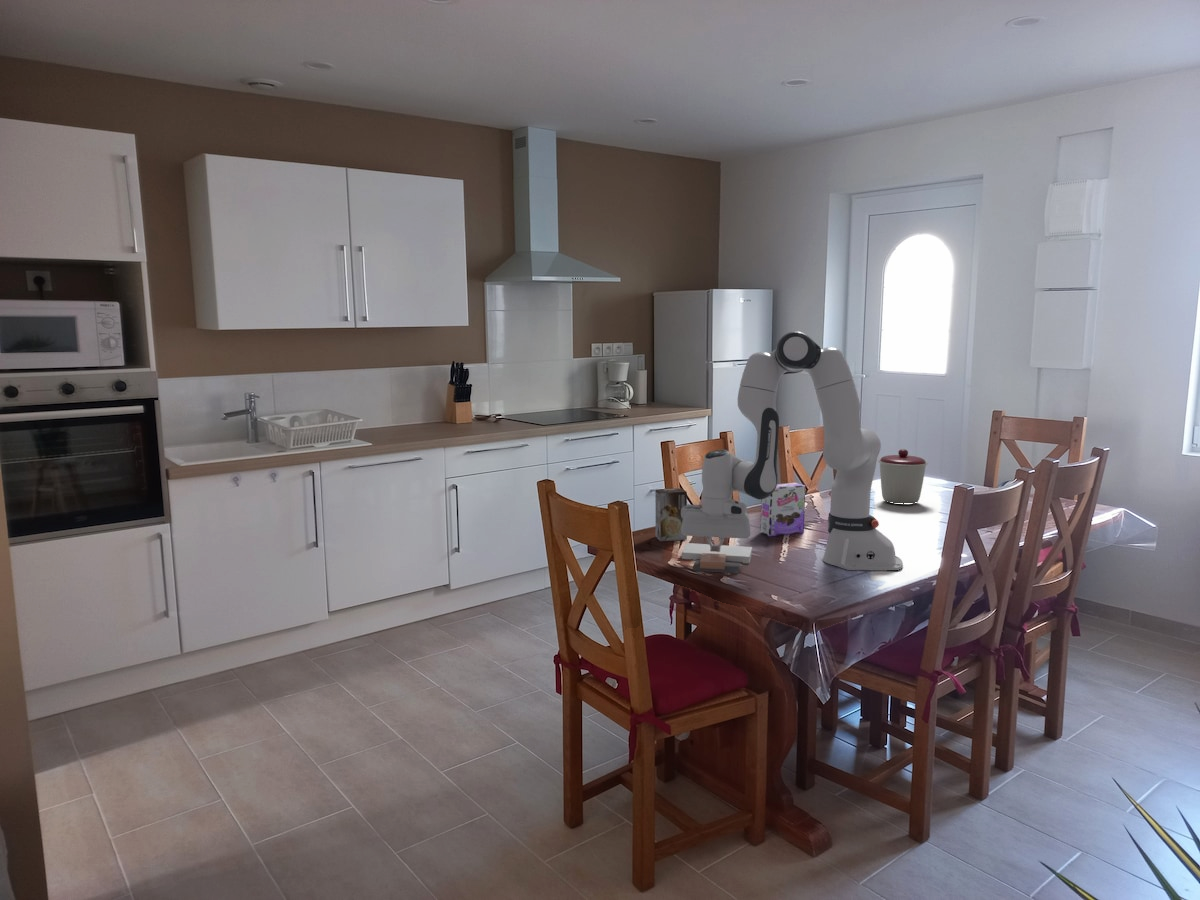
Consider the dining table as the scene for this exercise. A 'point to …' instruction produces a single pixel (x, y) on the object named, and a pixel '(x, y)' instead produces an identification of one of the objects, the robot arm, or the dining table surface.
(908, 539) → the dining table surface
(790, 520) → the candy box
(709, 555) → the tile
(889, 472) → the canister
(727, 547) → the deck
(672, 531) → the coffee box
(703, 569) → the mat
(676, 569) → the dining table surface
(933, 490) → the dining table surface
